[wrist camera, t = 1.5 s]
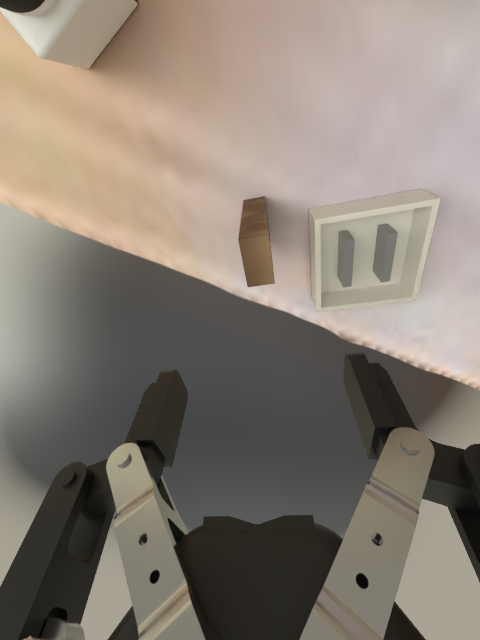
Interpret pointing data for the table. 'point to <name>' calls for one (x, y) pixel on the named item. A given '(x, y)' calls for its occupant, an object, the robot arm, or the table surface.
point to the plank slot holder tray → (370, 249)
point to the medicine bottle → (67, 26)
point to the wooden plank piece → (256, 243)
